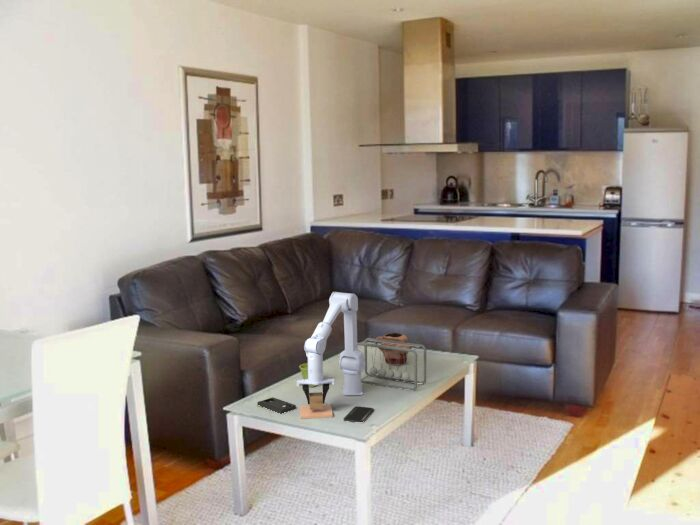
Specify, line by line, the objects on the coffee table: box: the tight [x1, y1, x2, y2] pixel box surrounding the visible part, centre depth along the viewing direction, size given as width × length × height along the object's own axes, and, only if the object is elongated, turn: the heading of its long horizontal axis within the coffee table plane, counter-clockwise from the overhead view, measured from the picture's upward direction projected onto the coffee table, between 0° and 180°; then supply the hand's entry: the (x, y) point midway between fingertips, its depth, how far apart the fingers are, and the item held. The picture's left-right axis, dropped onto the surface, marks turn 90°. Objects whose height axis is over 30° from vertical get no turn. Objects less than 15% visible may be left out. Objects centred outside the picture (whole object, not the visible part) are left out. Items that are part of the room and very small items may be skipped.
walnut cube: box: [308, 391, 324, 410], centre depth 278 cm, size 5×5×5 cm
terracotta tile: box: [300, 404, 334, 420], centre depth 279 cm, size 12×12×1 cm
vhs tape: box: [257, 396, 297, 415], centre depth 285 cm, size 14×8×2 cm, turn 46°
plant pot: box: [298, 362, 319, 388], centre depth 312 cm, size 9×9×9 cm
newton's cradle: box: [357, 337, 427, 391], centre depth 313 cm, size 30×10×18 cm, turn 60°
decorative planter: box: [374, 332, 413, 366], centre depth 344 cm, size 20×12×14 cm, turn 62°
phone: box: [343, 405, 375, 423], centre depth 275 cm, size 8×1×15 cm
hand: (316, 403), depth 278 cm, fingers closed on walnut cube, 5 cm apart
